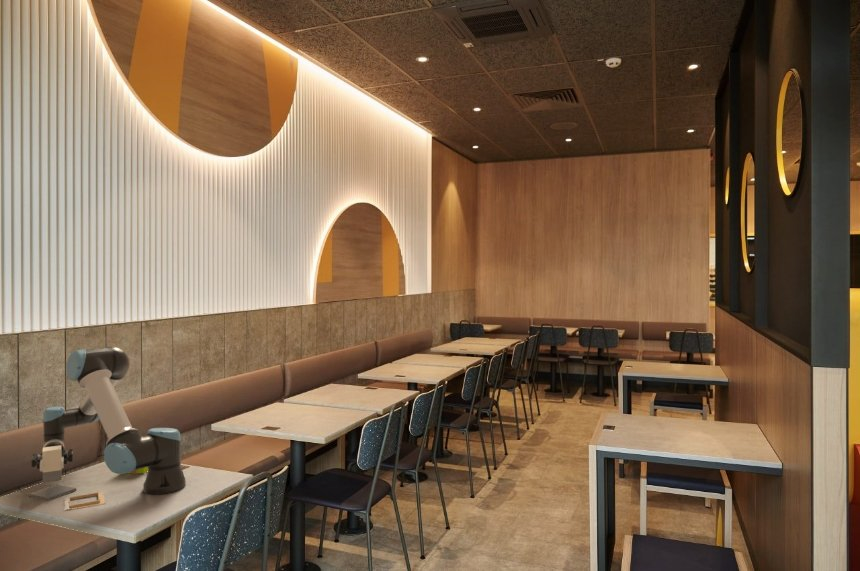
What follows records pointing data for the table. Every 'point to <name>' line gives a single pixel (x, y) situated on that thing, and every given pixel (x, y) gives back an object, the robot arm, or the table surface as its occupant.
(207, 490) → the table surface
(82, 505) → the tan square frame
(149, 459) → the robot arm
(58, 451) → the beige and grey block
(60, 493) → the slate board
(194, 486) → the table surface
